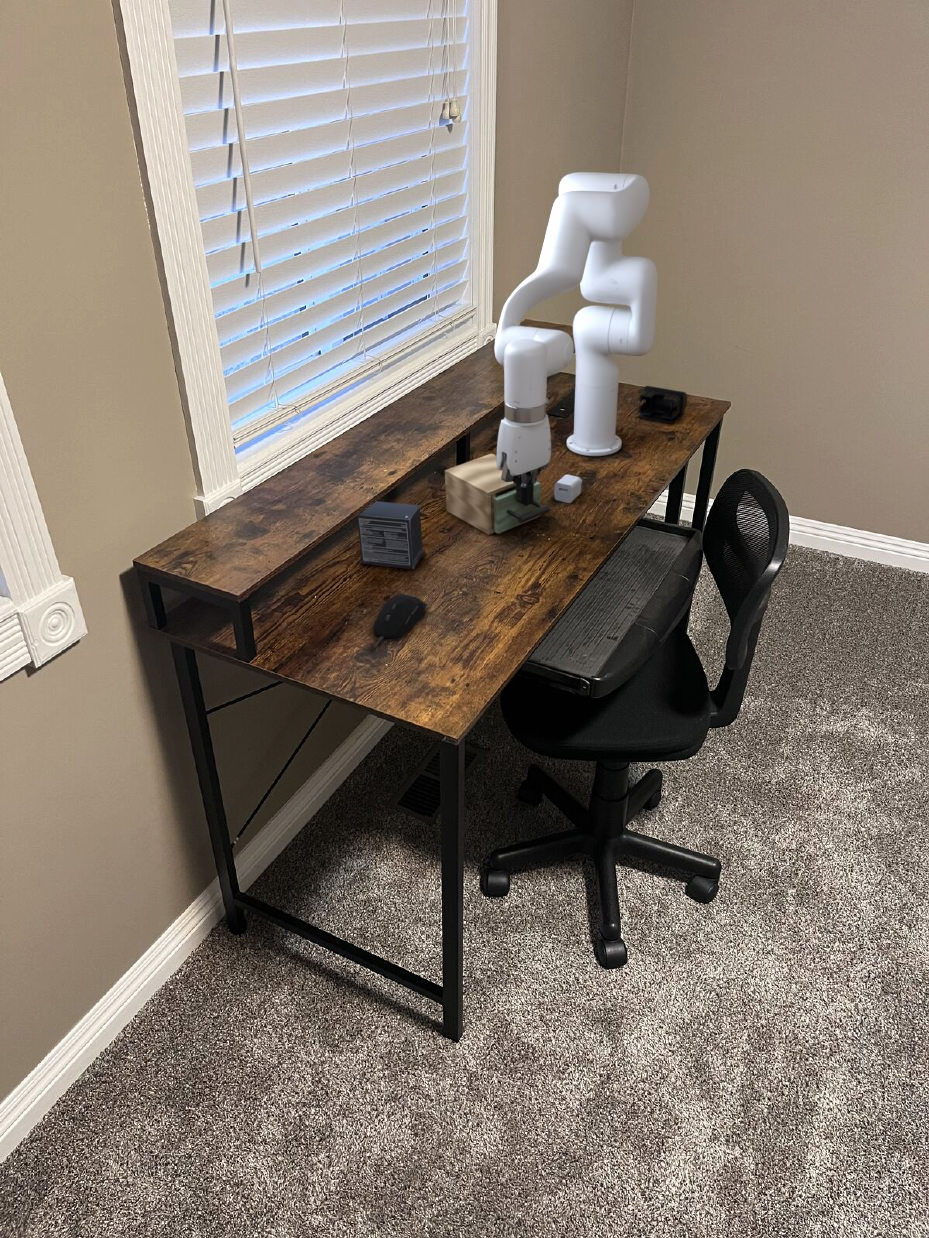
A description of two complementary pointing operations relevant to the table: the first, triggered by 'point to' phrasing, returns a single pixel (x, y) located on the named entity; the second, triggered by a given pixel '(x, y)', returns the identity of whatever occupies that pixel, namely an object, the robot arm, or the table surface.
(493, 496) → the drawer
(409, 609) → the gaming mouse
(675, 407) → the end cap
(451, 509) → the cabinet
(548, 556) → the table surface
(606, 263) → the robot arm
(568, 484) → the usb wall charger
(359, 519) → the small box
